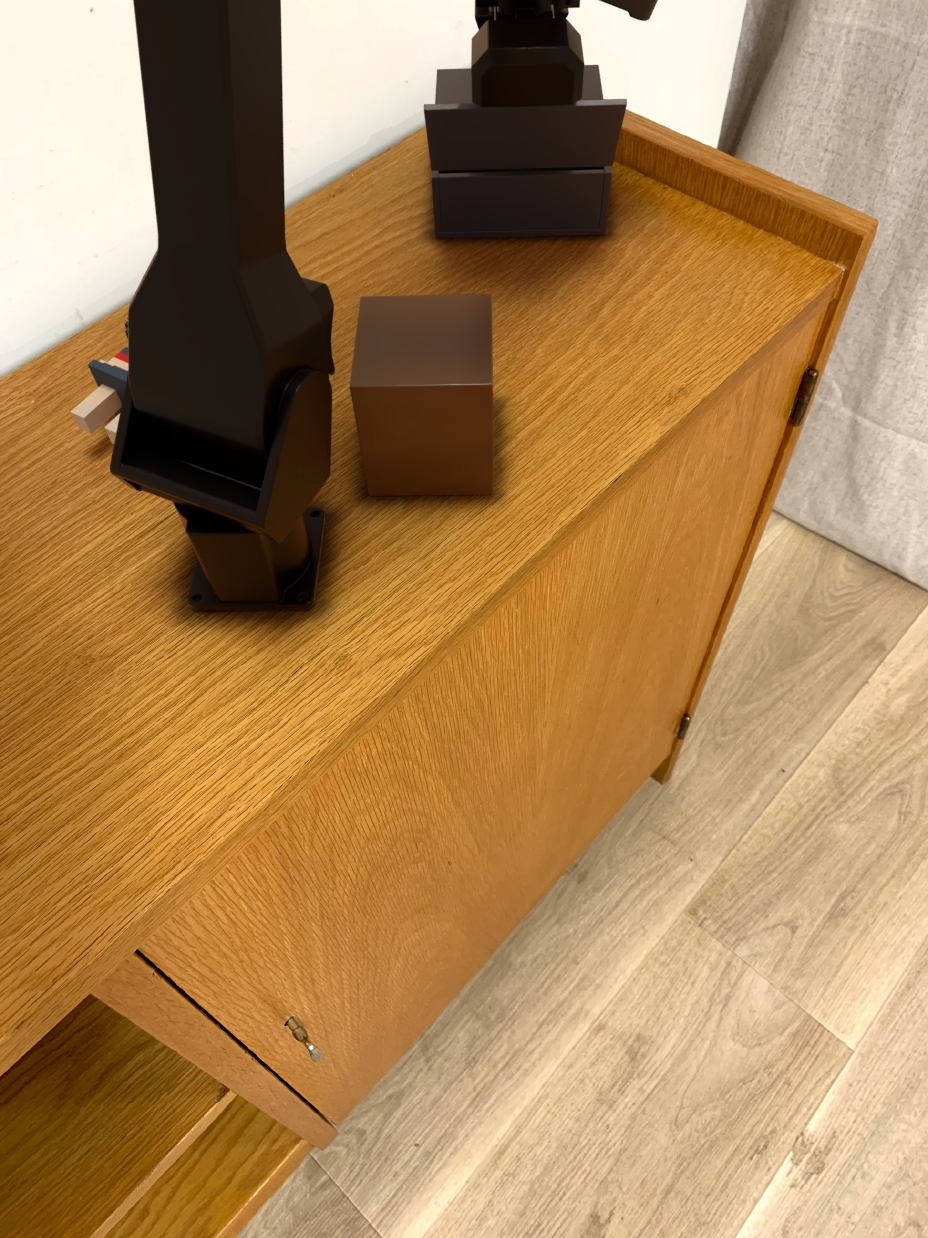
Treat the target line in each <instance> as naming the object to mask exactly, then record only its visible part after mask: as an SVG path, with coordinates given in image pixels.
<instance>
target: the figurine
mask: <svg viewBox="0 0 928 1238" xmlns="http://www.w3.org/2000/svg"><path fill="white" fill-rule="evenodd" d="M126 319H127V321H125V322H124V323H123V325H124V327H125V330H124V333H125V336H126V338H127V339H128V317H126ZM87 366H88V371H89V374H90V376H91V378H92V380H93V381H94V384H95V386H96V387H97V388H95V390H94V391H92V393H90V394H89V395H87V396H86V397H85V398H84V399H83V400H82V401H81V402H79V404H78V405H76V406H75V407H74V408H73V409H72V410H70V415H71V416H72V418H73V420H74V422H75V423H76V425H77V427H78V428H79V429H81V430H83V431H85V432H87V433H90V434H92V435H93V433H95V432H96V431H97V430H98V429H99V428H100V427H101V426H102V425H104V423H106V422H107V421H108V420H109V419H110V418H111V417H113V415H116V416H115V417H114V418H113V419H112V420H111V421H110V422H109V423H108V424H106V425H105V426H104V427H103V429H104V431H105V433H106V435H107V436H108V438H109V441H110V442H111V444H112V445H114V442H115V437H116V432H117V427H118V422H119V416H120V411H121V406H122V401H123V396H124V390H125V385H126V380H127V375H128V346H124V347H123V348H122V349H121V350H119V352H118V353H116V355H114V356H113V357H112V358H111V359H109V361H106V360H103V359H100V360H97V359H95V358H94V359H92V360H91V361H90V362H89V363H87Z"/></svg>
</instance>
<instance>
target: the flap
mask: <svg viewBox="0 0 928 1238" xmlns="http://www.w3.org/2000/svg"><path fill="white" fill-rule="evenodd" d="M627 107H628V99H627V98H605V99H604V98H603V99H600V100H579V101H577V102H576V103H574V104H567V105H531V106H494V107H481V106H479V105H477V104H475V103H454V104H435V103H424V104H423V115H424V123H425V131H426V139H427V147H428V154H429V163H430V171H431V172H432V171H444V170H484V169H525V168H565V167H605V166H611V167H613V166H614V162H615V158H616V153H617V149H618V146H619V145H618V144H619V139H620V136H621V132H622V127H623V124H624V120H625V114H626V110H627Z"/></svg>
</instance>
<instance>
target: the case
mask: <svg viewBox="0 0 928 1238" xmlns="http://www.w3.org/2000/svg"><path fill="white" fill-rule="evenodd" d="M434 95H435V96H434V104H454V103H473V102H472V79H471V67H469V68H465V67H463V68H437V69H436V79H435V94H434ZM600 99H604V92H603V87H602V79H601V71H600V66H599V64H584V77H583V90H582V99H581V100H600ZM430 176H431V177H430V179H431V193H432V195H431V197H432V209H433V225H434V226H433V227H434V238H435V239H475V238H477V239H478V238H479V239H480V238H516V237H517V238H518V237H519V238H520V237H522V238H523V237H564V236H567V237H569V236H605V235H606V232H607V222H608V216H609V215H608V213H609V204H610V197H611V188H612V187H611V186H612V176H613V170H612V166H605V167H565V168H525V169H484V170H444V171H431V175H430Z"/></svg>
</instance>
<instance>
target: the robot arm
mask: <svg viewBox="0 0 928 1238" xmlns="http://www.w3.org/2000/svg"><path fill="white" fill-rule="evenodd" d="M598 1H599V2H602V3H605V4H607V5H610V6H612V7H615V8H618V9H620V10H623V11H625V12H627V13H628V16H629V17H630V18H632V19H635V20H638V21H641V22H646V21H649V20H650V19H651V17H652V15H653V12H654V9H655V8H656V6H657V4H658V1H659V0H598ZM132 4H133V13H134V24H135V30H136V31H135V33H136V39H137V40H136V41H137V48H138V49H137V52H138V59H139V60H138V61H139V70H140V71H139V72H140V79H141V89H142V90H141V91H142V98H143V108H144V116H145V117H144V118H145V127H146V135H147V145H148V155H149V162H150V163H149V164H150V165H149V166H150V173H151V174H150V175H151V184H152V191H153V192H152V193H153V202H154V210H155V211H154V212H155V221H156V229H157V230H156V232H157V248H156V250H155V253H154V254H153V256H152V259H151V261H150V263H149V264H148V266H147V269H146V271H144V274H143V276H142V278H141V280H140V282H139V284H138V286H137V288H136V290H135V292H134V294H133V296H132V298H131V300H130V302H129V304H128V307H127V318H128V319H127V321H128V338H127V348H128V375H127V380H126V385H125V390H124V396H123V401H122V406H121V411H120V416H119V422H118V427H117V432H116V437H115V442H114V444H113V447H112V448H113V449H112V452H111V453H112V454H111V458H110V464H109V472H110V474H111V475H113V477H115V478H116V479H118V480H119V481H121V483H123V484H125V485H126V487H128V488H129V489H131V490H135V491H138V492H140V493H141V492H145V493H148V494H151V495H153V496H156V497H158V498H160V499H161V498H162V499H164V500H167V501H169V502H173V506H174V508H175V510H176V512H177V514H178V517H179V518H180V521H181V523H182V525H183V528H184V531H185V534H186V536H187V538H188V540H189V542H190V544H191V547H192V549H193V551H194V553H195V555H196V560H195V565H194V570H193V573H192V578H191V581H190V587H189V592H188V596H187V602H188V604H189V606H190V607H191V609H192V610H194V611H253V610H254V611H267V610H268V611H269V610H273V611H274V610H275V611H277V610H279V611H280V610H284V611H285V610H308V609H310V608H312V607H313V606H314V605H315V602H316V595H317V588H318V581H319V573H320V565H321V559H322V549H323V542H324V533H325V525H326V515H325V511H324V509H323V508H321V507H318V506H310V504H311V503H312V502H313V500H314V499H315V498H316V496H317V495H318V493H319V492H320V491H321V489H322V488H323V487H324V485H325V484H326V483H327V481H328V480H329V478H330V475H331V461H332V431H333V430H332V429H333V427H332V425H333V424H332V423H333V389H332V388H333V387H332V384H331V381H330V376H333V375H334V374H335V372H336V367H335V363H334V357H333V350H332V333H333V322H334V321H333V320H334V313H335V312H334V311H335V303H334V300H333V297H332V294H331V291H330V287H329V286H328V284H327V283H324V282H321V281H317V280H315V279H310V278H306V277H303V276H301V274H300V272H299V270H298V268H297V267H296V265H295V263H294V261H293V260H292V257H291V256H290V254H289V252H288V249H287V248H288V247H287V241H286V240H287V238H286V201H285V199H286V197H285V154H284V153H285V151H284V148H285V144H284V101H283V99H284V98H283V95H284V94H283V46H282V44H283V43H282V41H283V40H282V0H132ZM580 8H581V0H474V20H475V23H476V27H477V29H478V30H477V32H476V33H475V34H474V35H473V36H472V37H471V50H470V51H471V56H470V58H471V59H470V61H471V62H470V68H471V79H472V102H473V103H475V104H477V105H479V106H481V107H494V106H531V105H567V104H574V103H576V102H577V101H579V100H581V99H582V90H583V77H584V65H585V57H584V50H583V41H582V35H581V34H580V32H579V31H578V30H577V29H576V28H575V27H574V26H573V24H572V23H571V22H570V21H569V20H568V16H569V14H570V11H569V9H580ZM315 516H316V517H315ZM304 598H307V599H306V600H303V599H304ZM199 599H200V600H199ZM197 600H199V601H197Z"/></svg>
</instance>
